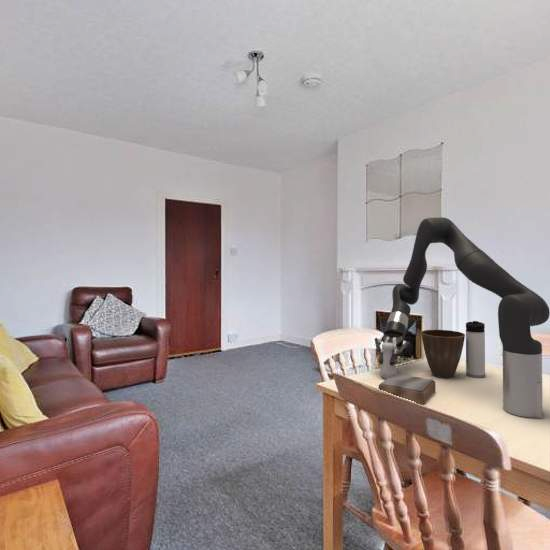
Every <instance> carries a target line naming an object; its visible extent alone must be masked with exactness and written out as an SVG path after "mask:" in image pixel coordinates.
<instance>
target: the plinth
mask: <svg viewBox="0 0 550 550" xmlns="http://www.w3.org/2000/svg"><path fill="white" fill-rule="evenodd" d="M436 386H437V384H436V381H435V380H434V379H431V378H426V377H420V376H419V377H418V376H412V375H408V374H401V373H396V374H395V373H394V374H393V375H391V376H390V377H389V378H387V379H385V380H384V381H382V382H381V383H380V384H378V390H379V389H380V390H383V391H386V392H388V393H391V394H393V395H396V396H399V397H402V398H405V399H408V400H411V401H414V402H416V403H415V404H417V403H419V404H418V405H422V406H424V405H426V404H427V402H428V401H429V400H430V399H429V398H431V397H433V395H434V394H435V393H436V392H435V391H437V390H436V389H437V388H436Z"/></svg>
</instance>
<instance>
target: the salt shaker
mask: <svg viewBox="0 0 550 550" xmlns="http://www.w3.org/2000/svg"><path fill="white" fill-rule="evenodd" d="M381 349H383V350H384V352H383V364H381V363H380V371H379V372H380V375H381V377H382V379H385V380H386V379H387V378H389V377H390V376H391V375H393V374H394V373H395V374H397V368H396V363H395V364H393V366H391V365H390V363H389V362H390V358H391V355H392V354H393V349H394V345H393V344H392V343H383V342H382V343H381Z"/></svg>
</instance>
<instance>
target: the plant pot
mask: <svg viewBox="0 0 550 550" xmlns="http://www.w3.org/2000/svg"><path fill="white" fill-rule="evenodd" d="M420 333H421V339H422V345H423V350H424V354H425V357H426V360H427V361H426V362H427V364H428V367H429V370H430V373H431V375H432V376H433V377H437V378H441V379H442V378H443V379H450V378H453V377H454V376H455V375H456V374H455V373H456V372H457V368H458V366H459V363H460V359H461V357H462V354H463V353H462V352H463V349H464V344H465V339H466V333H463V332H461V331H460V332H459V331H456V330H449V329H448V330H447V329H426V330H422V331H421V332H420Z"/></svg>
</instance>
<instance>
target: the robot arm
mask: <svg viewBox="0 0 550 550" xmlns="http://www.w3.org/2000/svg"><path fill="white" fill-rule="evenodd" d="M440 243H441V244H444V245H446V246H447V247H448V248H449V249H450V250H451V251H452V252H453V258H454V263H455V266H456V268H457V270H458V271H460V273H461V274H462V275H464V277H466V279H468V280H469V281H470V282H471V283H473V284H475V285H477V286H479V287H481V288H483V289H484V290H487V291H489V292H491V293H493V294H495V295H496V296H499V298H501V299H500V301H499V303H498V307H497V319H498V320H497V321H498V335H499V339H500V341H501V345H502V409H503V410H504V411H505V412H507V413H508V414H511V415H514V416H519V417H522V418H524V417H525V418H538V419H543V412H544V411H543V410H544V409H543V345H542V342H540V341H539V340H537V339H534V338H533V336H532V333H531V327H537V326H539V325H542V324H545V323H546V322H547V321H548V320H549V318H550V307H549V305H548V304H547V302H546V301H545V299H544V298H543V297H541V296H540V295H539V294H538V293H536V292H535V291H533V290H532V289H530V288H529V287H527V286H526V285H524V284H523V283H521V282H520V281H519V280H517V279H516V278H514V277H513V275H511V274H510V273H509V272H508V271H507V270H505V269H504V268H503V267H502V266H501V265H499V264H498V263H497V262H496V261H495V260H494V259H493V258H492V257H490V256H489V255H488V254H487V253H486V252H485V251H483V249H481V248H480V247H478V246H477V245H476V244H475V243H474V242H473V241H472V240H471V239H469V238H468V237H467V236H466V235H465V234H464V233H463V232H462V231H461V230H460V228H459V227H458V226H457V225H456V224H455V223H454V222H453V221H452V220H450V219H449V218H447V217H427V218H424V219H422V220H421V222H420V224H419V226H418V228H417V230H416V235H415V239H414V244H413V248H412V253H411V256H410V260H409V264H408V265H407V268H406V270H405V273H404V275H403V278H402V281H403V282H404V283H397V284H396V285H395V286H394V287H393V289H392V293H391V294H392V308H391V311H390V314H389V317H388V320H387V323H386V325H385V329H384V333H383V335H382V336H381V338H377V337H375V338H374V343H375V350H376V352H377V353H378V355H379V358H378V361H379V363H380V365H381V364H383V352H384V350H383V349H382V347H381V346H382V344H383V343H392V344H393V345H394V349H393V350H392V351H393V354H392V355H391V358H390V362H389V363H390V365H391V366H393V364H395V365H396V361H397V357H400V358H402V357H403V356H404V355H405V354H406V352H407V351H408V350H409V349H410V347H411V344H410V342H409V341H407V340H405V335H406V332H407V329H408V326H409V325H408V324H409V317H410V315H411V306H412V305H415V304H417V302H418V300H419V299H420V298H419V297H420V288H421V284H422V281H423V279H424V278H425V275H426V273H427V270H428V263H427V258H426V253H427V249H428V248H429V246H430V245H431V244H440ZM410 305H411V306H410Z"/></svg>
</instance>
